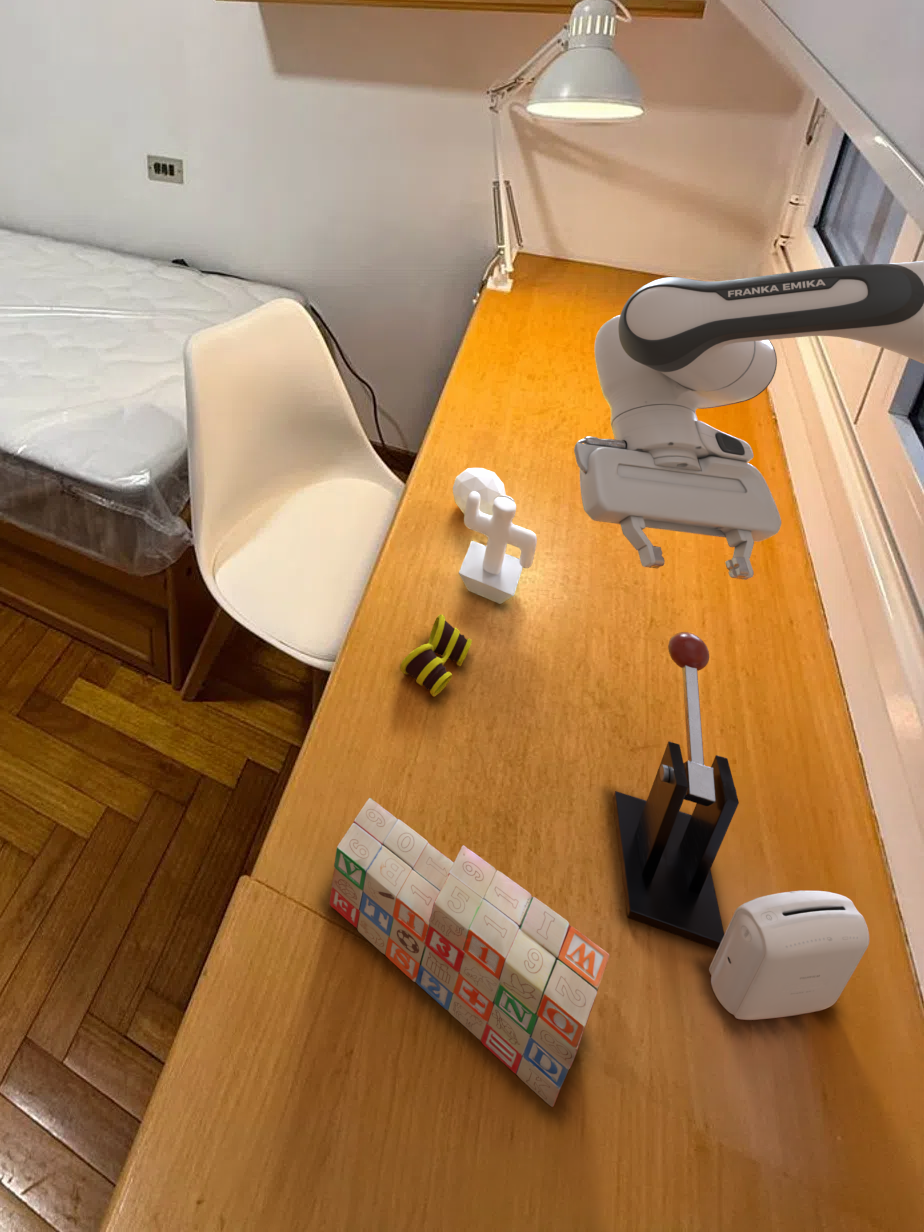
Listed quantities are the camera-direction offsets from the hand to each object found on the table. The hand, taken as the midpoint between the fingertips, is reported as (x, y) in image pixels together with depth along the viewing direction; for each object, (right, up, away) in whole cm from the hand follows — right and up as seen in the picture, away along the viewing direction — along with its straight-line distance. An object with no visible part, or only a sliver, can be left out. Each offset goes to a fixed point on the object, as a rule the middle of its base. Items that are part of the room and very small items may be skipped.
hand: (698, 572), depth 86 cm
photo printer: (-1, -33, -11) cm, 35 cm away
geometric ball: (-7, -9, +44) cm, 46 cm away
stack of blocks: (-29, -32, -10) cm, 44 cm away
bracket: (-5, -29, -2) cm, 29 cm away
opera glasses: (-21, -20, +19) cm, 34 cm away
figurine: (-10, -15, +31) cm, 35 cm away
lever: (-3, -14, -2) cm, 14 cm away
